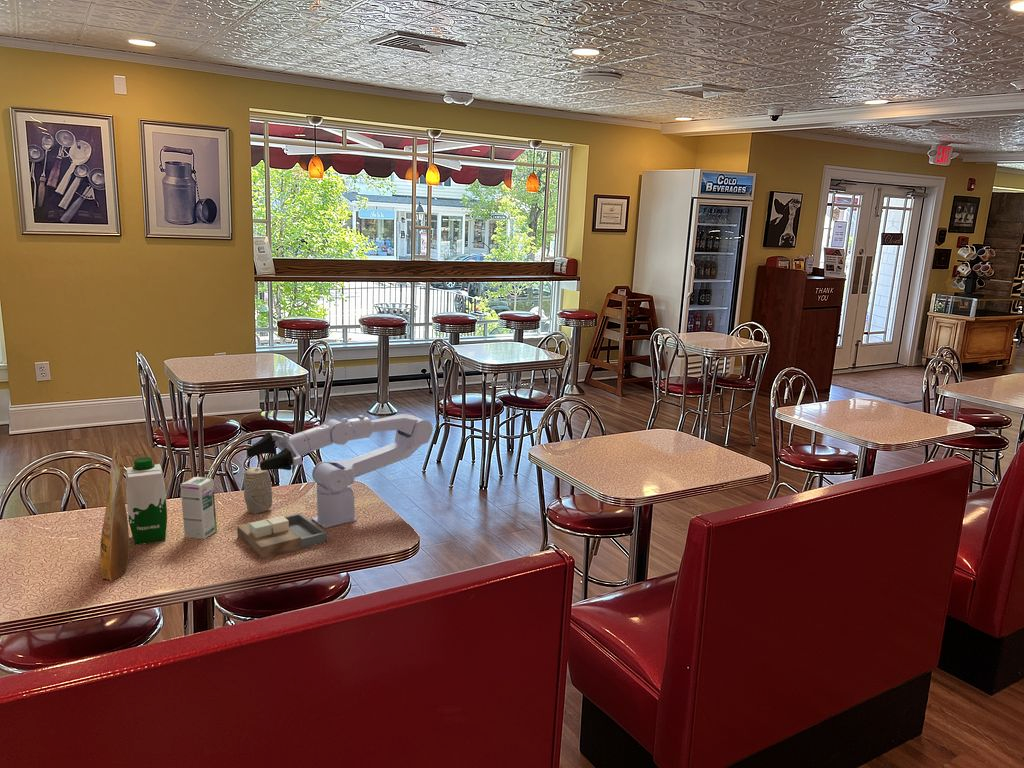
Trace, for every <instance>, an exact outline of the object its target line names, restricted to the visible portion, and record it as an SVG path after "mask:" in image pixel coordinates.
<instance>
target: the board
mask: <svg viewBox="0 0 1024 768" xmlns="http://www.w3.org/2000/svg"><path fill="white" fill-rule="evenodd" d="M274 517H275V516H274ZM274 517H272V518H274ZM267 519H270V518H266V519H264V520H266V521H267ZM261 520H262V519H259V521H261ZM257 521H258V520H256V521H255V522H257ZM249 523H250V522H247V523H244V524H239V525H237V526H236V529H237V538H239V540H241V541H242V543H244V544H245V545H246V546H247V547H248V548H250V550H252V551H253V552H254V553H255V554H256V555H257V556H258V557H259V558H260V559H261V560H263V559H267V558H271V557H275V556H278V555H282V554H286V553H291V552H293V551H297V550H298V551H299V550H301V537H300V536H299V535H297V534H296V533H295V532H293V531H292V530H291V529H290V528H289V530H287V531H283V532H278V533H274V534H273V533H272V534H270V535H266V536H262V537H258V538H255V537H254V536H253V535H252V534H251V533H250V526H249Z"/></svg>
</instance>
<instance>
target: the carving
mask: <svg viewBox="0 0 1024 768" xmlns="http://www.w3.org/2000/svg"><path fill="white" fill-rule="evenodd" d="M243 499H244V502H245V507H246V509H247V511H248V512H249V513H250V514H260V513H264V512H266V511H268V510H269V509H271V508H272V506H273V503H274V502H273V488H272V480H271V476H270V471H269V470H261V468H260V467H250V468H248V469H246V470H245V471H244V474H243Z"/></svg>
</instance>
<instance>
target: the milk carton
mask: <svg viewBox="0 0 1024 768" xmlns="http://www.w3.org/2000/svg"><path fill="white" fill-rule="evenodd" d="M133 462H134V466H130V467H127V468H126V472H125V473H126V474H125V482H126V485H125V488H126V506H127V507H126V509H127V519H128V526H129V528H130V532H131V536H132V540H133V542H134V546H137V545H136V544H140V545H145V544H144V543H146V544H152V543H159V542H165V541H166V539H167V538H166V537H167V525H168V509H167V496H166V486H165V485H166V484H165V483H166V481H165V477H164V476H165V475H164V472H163V469H162V466H161V463H156V464H155V463H153V458H152V457H139V458H136V459H134V460H133Z"/></svg>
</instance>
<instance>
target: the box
mask: <svg viewBox="0 0 1024 768" xmlns="http://www.w3.org/2000/svg"><path fill="white" fill-rule="evenodd" d="M284 517H285V518H286V519H287V520H288V521H289V528H290V529H291V530H292V531H293V532H295V533H296V534H297V535H299V536H300V537H301V548H302V549H305V548H309V546H310V547H312V546H313V545H314V546H317V545H321V544H325V543H328V532H327V531H326V530H325V529H324V528H322V527H320V525H319V526H318V525H317V523H316V522H313V520H310V519H309V518H308V517H306V516H305V515H304V514H302V512H299V513H296V514H295V513H294V514H290V515H286V516H284ZM324 542H325V543H324ZM320 543H321V544H320Z"/></svg>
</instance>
